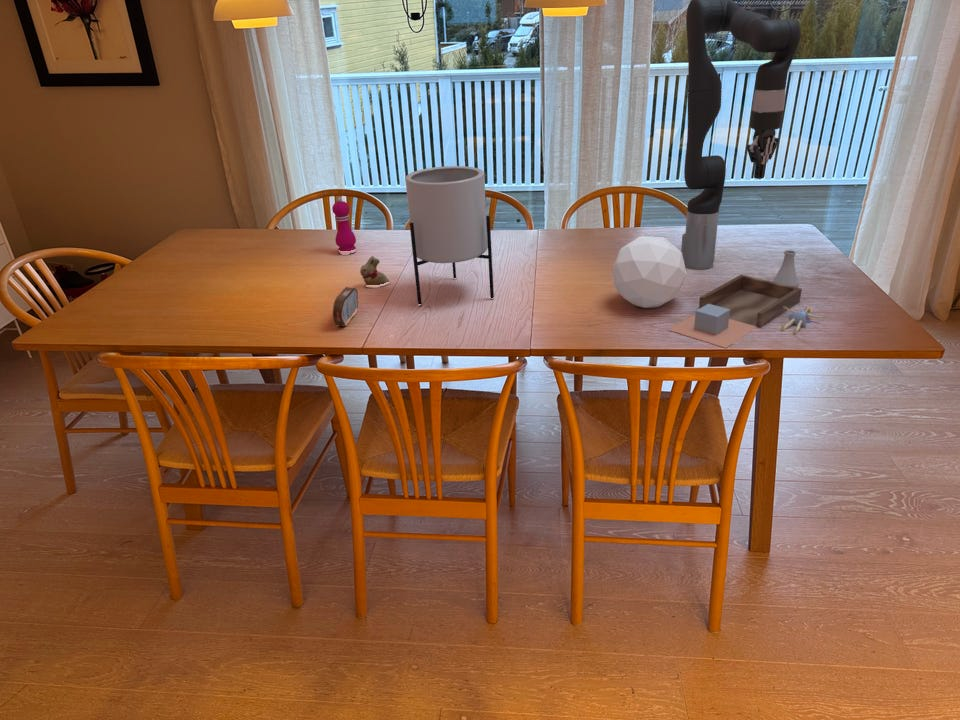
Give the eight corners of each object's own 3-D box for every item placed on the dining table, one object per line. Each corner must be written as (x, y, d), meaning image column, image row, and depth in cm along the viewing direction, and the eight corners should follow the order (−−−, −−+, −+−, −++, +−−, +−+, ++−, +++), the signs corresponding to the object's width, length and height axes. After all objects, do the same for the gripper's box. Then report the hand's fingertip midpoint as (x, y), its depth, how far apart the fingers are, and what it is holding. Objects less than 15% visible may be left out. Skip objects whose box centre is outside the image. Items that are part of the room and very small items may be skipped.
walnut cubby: (698, 310, 186) (699, 297, 184) (739, 287, 198) (741, 274, 196) (760, 328, 174) (762, 313, 172) (799, 302, 187) (801, 288, 185)
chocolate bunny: (367, 282, 220) (363, 252, 215) (391, 282, 218) (387, 252, 214) (361, 288, 215) (357, 257, 211) (385, 289, 214) (381, 258, 209)
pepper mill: (341, 249, 252) (332, 194, 243) (360, 249, 251) (352, 194, 242) (334, 255, 246) (325, 200, 237) (354, 255, 245) (346, 199, 236)
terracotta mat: (668, 330, 176) (668, 329, 176) (700, 311, 185) (701, 310, 185) (725, 348, 165) (726, 347, 165) (757, 327, 174) (757, 326, 174)
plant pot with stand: (441, 277, 220) (431, 163, 204) (510, 285, 210) (505, 166, 194) (402, 304, 202) (387, 182, 185) (475, 315, 192) (466, 186, 175)
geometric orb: (664, 328, 193) (707, 285, 177) (601, 312, 187) (639, 267, 172) (656, 276, 203) (696, 231, 188) (596, 259, 198) (631, 212, 182)
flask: (801, 289, 194) (806, 256, 190) (773, 289, 196) (778, 255, 191) (795, 280, 201) (801, 247, 196) (769, 280, 202) (774, 247, 198)
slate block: (694, 328, 175) (695, 310, 173) (706, 321, 179) (708, 303, 177) (715, 335, 171) (717, 316, 169) (728, 327, 175) (730, 309, 173)
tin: (351, 309, 201) (347, 282, 197) (361, 309, 200) (357, 282, 196) (334, 331, 187) (329, 302, 184) (345, 331, 187) (340, 302, 183)
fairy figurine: (766, 315, 173) (787, 296, 180) (765, 332, 175) (785, 312, 182) (813, 327, 165) (833, 306, 172) (811, 344, 168) (830, 322, 175)
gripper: (766, 104, 179) (757, 171, 187) (740, 111, 171) (732, 181, 179) (794, 105, 174) (784, 175, 182) (769, 112, 166) (760, 185, 174)
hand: (758, 178), depth 181 cm, fingers closed
